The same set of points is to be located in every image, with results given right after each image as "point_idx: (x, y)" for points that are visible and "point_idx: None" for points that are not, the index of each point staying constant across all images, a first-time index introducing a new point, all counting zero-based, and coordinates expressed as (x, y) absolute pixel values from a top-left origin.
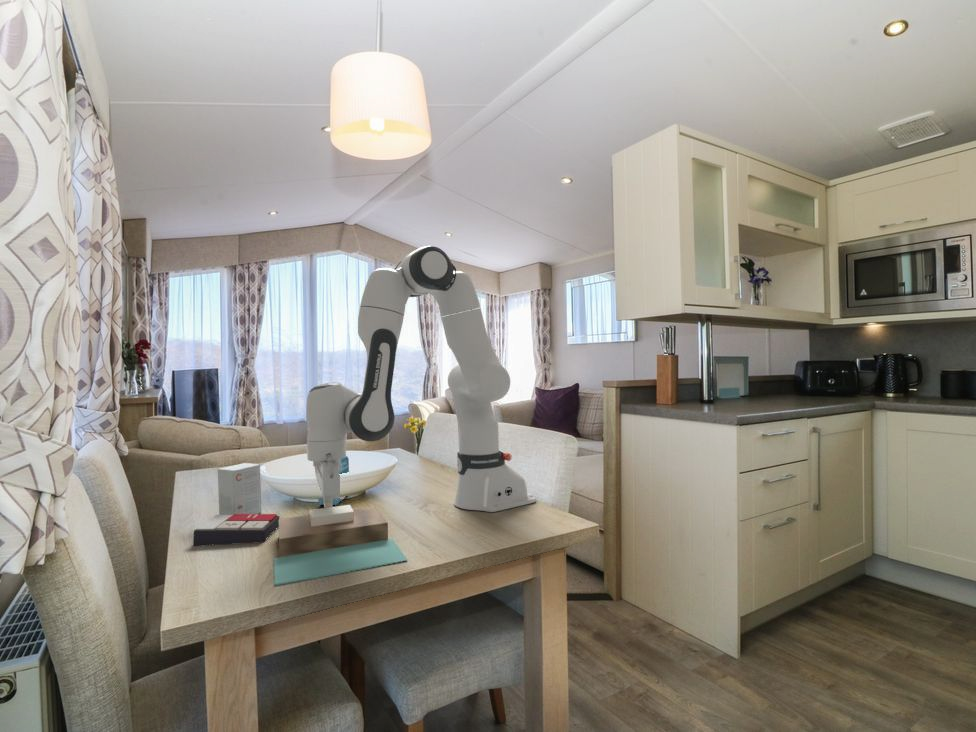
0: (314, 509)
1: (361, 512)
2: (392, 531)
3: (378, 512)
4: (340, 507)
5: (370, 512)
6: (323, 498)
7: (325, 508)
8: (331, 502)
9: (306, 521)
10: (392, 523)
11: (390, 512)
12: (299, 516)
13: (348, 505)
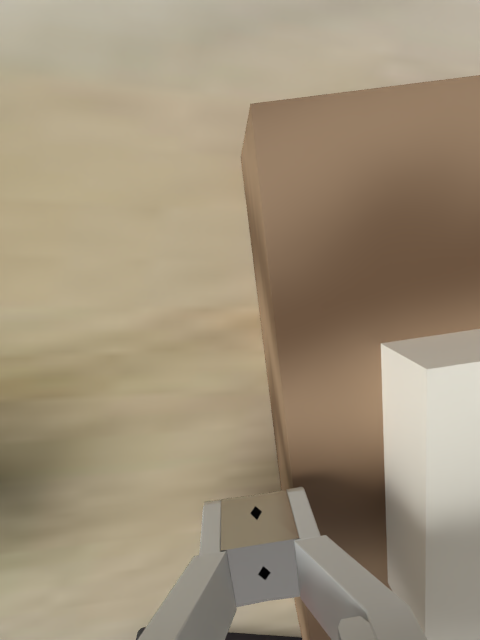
0: (426, 627)
1: (401, 252)
2: (460, 61)
3: (475, 93)
4: (477, 449)
5: (440, 171)
6: (222, 633)
7: (440, 559)
8: (322, 541)
9: None
10: (303, 38)
11: (28, 17)
12: (311, 637)
13: (446, 382)
